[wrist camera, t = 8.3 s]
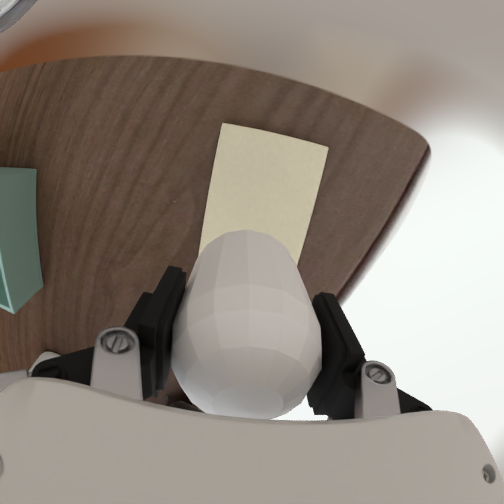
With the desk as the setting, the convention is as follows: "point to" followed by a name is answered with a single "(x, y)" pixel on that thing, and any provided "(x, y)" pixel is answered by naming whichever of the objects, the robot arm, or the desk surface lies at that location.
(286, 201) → the mat
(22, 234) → the mint green open box
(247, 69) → the desk surface
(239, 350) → the capsule
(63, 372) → the robot arm
